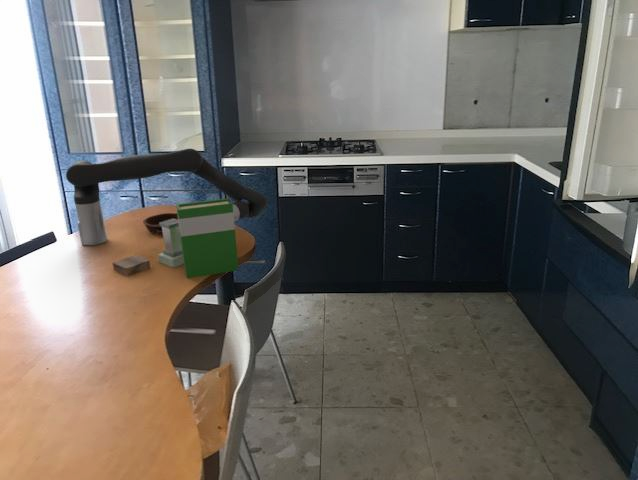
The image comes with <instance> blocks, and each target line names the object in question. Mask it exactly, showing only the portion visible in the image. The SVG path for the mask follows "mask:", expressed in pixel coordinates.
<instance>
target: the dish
mask: <svg viewBox="0 0 638 480" xmlns="http://www.w3.org/2000/svg"><path fill="white" fill-rule="evenodd" d="M173 218H174V219H177V220H178V214H177V212H176V213H175V212H174V213H173V212H165V213H159V214H154V215H151V216H148V217H146V218H144V220H143V221H142V224H143V225H144V226H145V227H146V229H147V231H149V232H150V233H152V234H157V235H160V236H163V232H162V226H160V225H159V223H160V222H163V221H166V220H170V219H173Z"/></svg>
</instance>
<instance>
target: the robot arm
mask: <svg viewBox="0 0 638 480" xmlns="http://www.w3.org/2000/svg"><path fill="white" fill-rule="evenodd" d="M172 172H173V173H174V172H177V173H178V172H189V173H192V174H194V175H196V176H199V177H200V178H202V179H204V180H206V181H207V182H209V183H210V184H212V186H214V188H216V189H217V190H219V191H220V192H222V193H223V194H224V195H226V196H227V197H228V198H229V199H232V200H233V201H235V202H231V203H232V204H233V215H234V223H235V222H236V221H239V220H241V219H249V218H255V217H257V216H259V215H261V213H262V211H263V210H264V209H265V208H266V206H267V205H268V200H267V197H266V195H264V194H263V193H262V192H260V191H259V190H258V191H257V190H254V189H252V188H249V187H246V186H244V185H243V184H241V182H238V181H237V180H235V179H234V178H232V177H231V176H230V175H228V174H226V173H224V172H222V171H220V170H219V169H217V168H216V167H215V166H213V165H212V164H210V163H209V162H208V161H207V160H206V159H205V158H204V157H203V156H202V154H201V153H200V152H199V151H198V150H196V149H194V148H185V149H181V150H177V151H172V152H168V153H167V152H166V153H150V154H149V153H148V154H136V155H135V154H134V155H127V156H123V157H119V158H115V159H113V160H109V161H105V162H101V163H92V162H90V161H89V160H84V159H81V160H78V161H77V160H76V161H75V162H73V163H72V164H71V165H70V166H69V167H68V168H67V170H66V175H65V177H66V178H65V179H66V180H67V181H68V182H69V184H70V185H72V186H73V188H74V194H73V201H74V204H75V205H74V206H75V210H76V215H77V220H78V222H77V228H78V231H79V232H78V234H79V238H80V243H81V245H82V246H96V245H101V244H104V243H106V242H107V241H108V237H107V229H106V225H105V220H104V215H103V210H102V209H103V208H102V203H101V199H100V186H99V184H101V183H105V182H119V181H129V180H130V181H131V180H139V179H147V178H151V177H155V176H158V175H162V174H166V173H172ZM243 200H245V201H243ZM246 201H247V202H246Z"/></svg>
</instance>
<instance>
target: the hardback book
mask: <svg viewBox="0 0 638 480" xmlns="http://www.w3.org/2000/svg"><path fill="white" fill-rule="evenodd" d="M232 203H233V202H230V197H228V198H227V197H226V198H221V199H220V198H218V199H209V200H203V201H193V202H183V203H176V204H175V206H176V207H175V208H176V213H177V214H178V221H179V229H180V236H181V243H182V251H183V258H184V264H183V265H184V270H185V276H186V279H191V278H199V277H204V276H211V275H217V274H222V273H229V272H235V271H239V270H240V268H239V259H238V258H239V257H238V248H237V247H238V246H237V236H236V228H235V222H234V215H233V204H232Z"/></svg>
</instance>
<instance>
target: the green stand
mask: <svg viewBox="0 0 638 480" xmlns="http://www.w3.org/2000/svg"><path fill="white" fill-rule="evenodd" d="M157 258H158V263H160V264H163V265H166V266H168V267H170V268H176V267H179V266H182V265H184V258H183V254H182V255H179V256H176V257H174V258H173V257H171V256H168V255H165V254H164V252H161V253H158V254H157Z"/></svg>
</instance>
